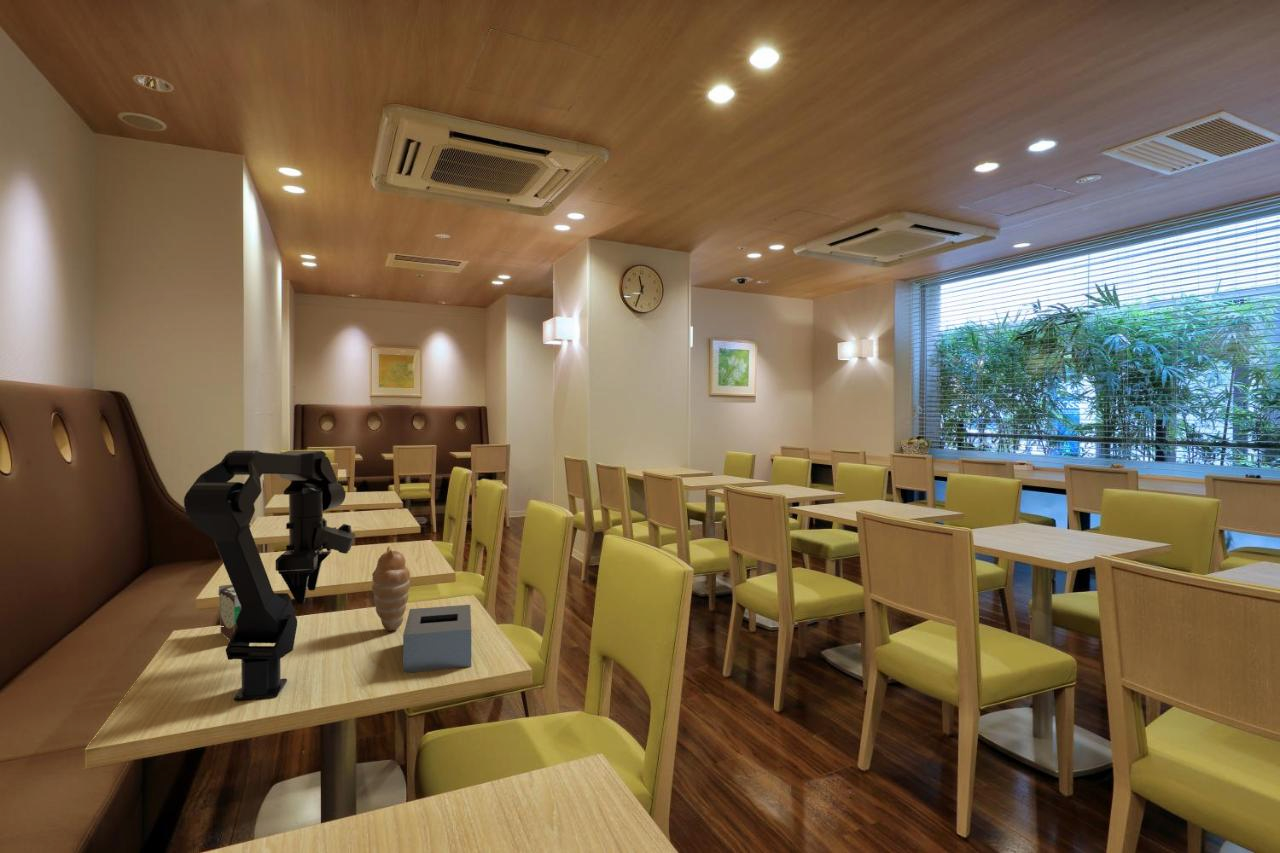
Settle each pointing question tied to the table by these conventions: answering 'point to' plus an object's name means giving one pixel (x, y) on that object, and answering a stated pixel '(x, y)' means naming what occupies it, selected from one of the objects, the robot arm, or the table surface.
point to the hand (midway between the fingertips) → (306, 596)
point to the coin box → (437, 638)
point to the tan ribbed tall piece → (391, 588)
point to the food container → (228, 610)
